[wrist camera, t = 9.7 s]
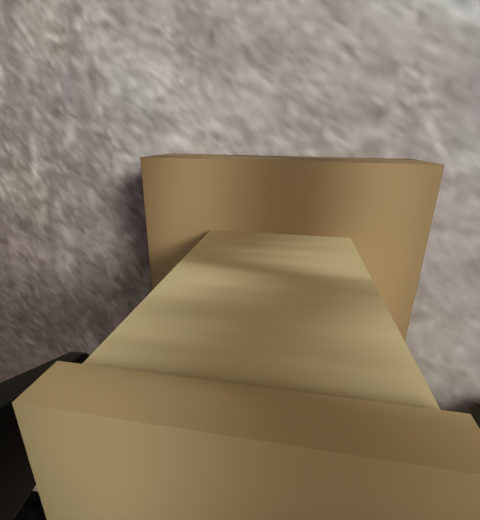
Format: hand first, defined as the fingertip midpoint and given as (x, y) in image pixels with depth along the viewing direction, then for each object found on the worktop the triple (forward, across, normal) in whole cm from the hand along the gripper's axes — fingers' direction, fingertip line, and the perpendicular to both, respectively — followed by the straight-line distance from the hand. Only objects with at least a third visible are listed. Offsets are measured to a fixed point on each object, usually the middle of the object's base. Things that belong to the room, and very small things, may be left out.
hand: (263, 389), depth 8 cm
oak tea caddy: (+5, 0, 0) cm, 5 cm away
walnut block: (+8, 0, 0) cm, 8 cm away
